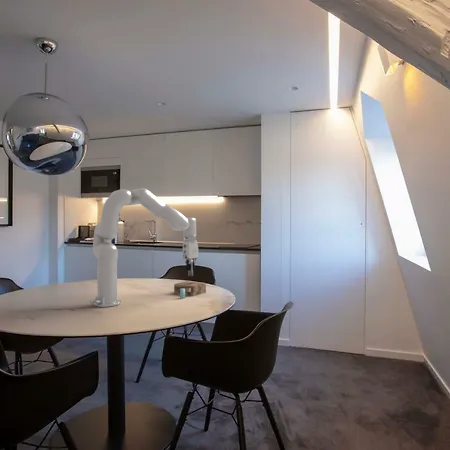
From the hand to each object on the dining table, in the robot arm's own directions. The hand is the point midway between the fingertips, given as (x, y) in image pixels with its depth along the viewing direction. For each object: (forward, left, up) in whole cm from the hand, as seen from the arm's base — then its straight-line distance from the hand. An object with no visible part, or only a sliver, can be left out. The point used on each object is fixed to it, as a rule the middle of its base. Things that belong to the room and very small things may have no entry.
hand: (190, 269), depth 211 cm
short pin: (-13, -5, -14) cm, 20 cm away
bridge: (0, 0, -13) cm, 13 cm away
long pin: (0, 0, -4) cm, 4 cm away
